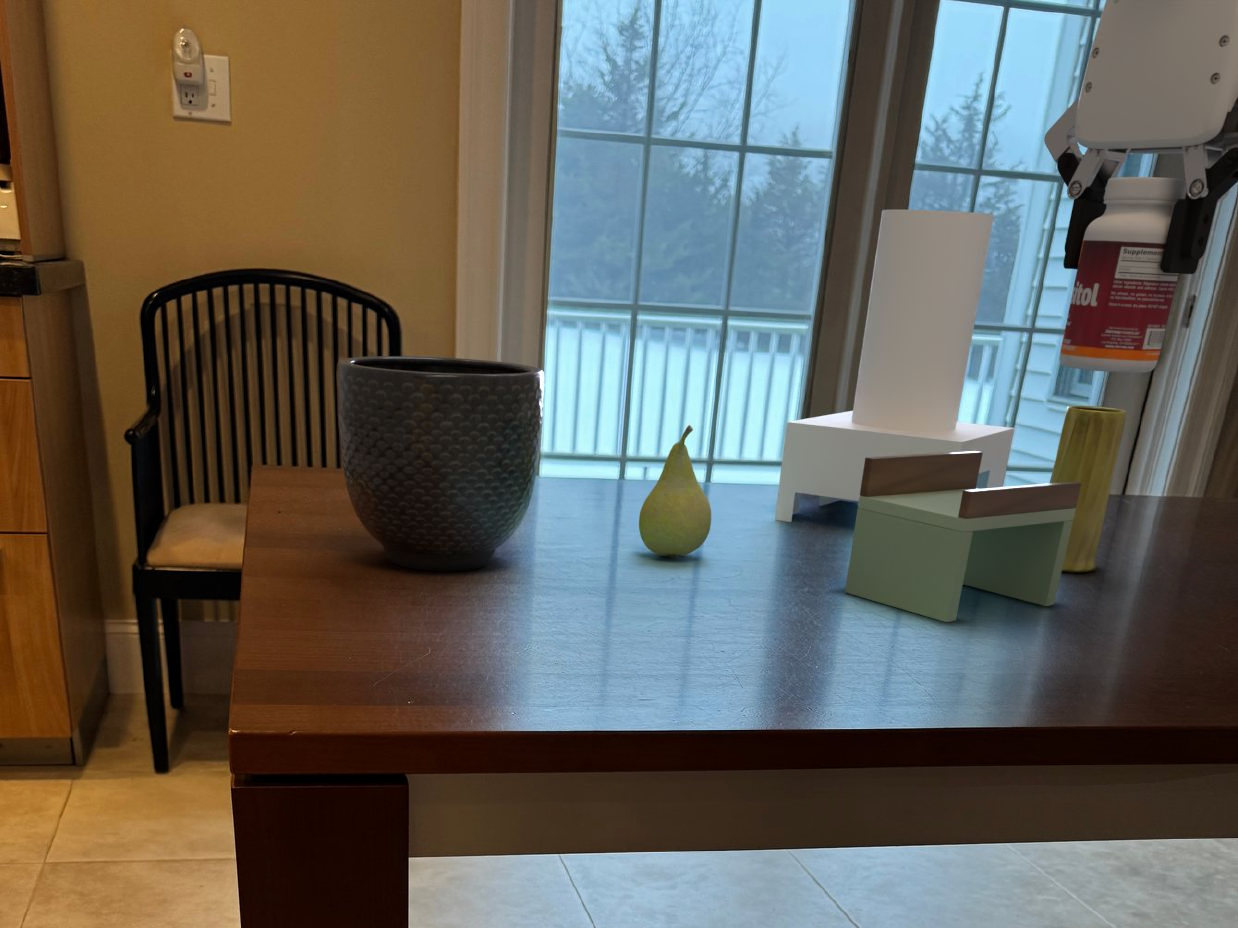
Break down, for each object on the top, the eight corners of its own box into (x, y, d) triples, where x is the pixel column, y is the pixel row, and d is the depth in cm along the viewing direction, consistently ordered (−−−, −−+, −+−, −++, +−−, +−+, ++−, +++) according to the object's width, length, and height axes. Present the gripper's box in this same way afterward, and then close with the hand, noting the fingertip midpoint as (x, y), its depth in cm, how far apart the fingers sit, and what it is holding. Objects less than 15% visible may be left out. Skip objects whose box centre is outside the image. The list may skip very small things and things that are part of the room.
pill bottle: (1047, 363, 89) (1084, 180, 84) (1140, 368, 89) (1183, 184, 84) (1068, 370, 84) (1109, 174, 79) (1167, 375, 83) (1215, 178, 78)
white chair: (774, 519, 141) (813, 205, 127) (839, 499, 155) (881, 214, 141) (943, 545, 132) (1005, 210, 118) (995, 521, 146) (1056, 220, 132)
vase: (1025, 568, 123) (1060, 408, 117) (1030, 556, 128) (1063, 403, 122) (1093, 576, 121) (1132, 414, 115) (1095, 564, 126) (1132, 408, 120)
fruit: (700, 550, 124) (714, 416, 118) (715, 567, 117) (730, 427, 111) (631, 548, 123) (641, 413, 118) (642, 565, 116) (654, 423, 111)
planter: (328, 578, 106) (322, 367, 99) (353, 537, 121) (349, 352, 114) (537, 587, 107) (546, 378, 99) (535, 545, 122) (543, 362, 115)
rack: (1054, 605, 110) (1085, 469, 105) (946, 622, 103) (973, 478, 98) (951, 577, 118) (975, 450, 113) (844, 592, 110) (865, 457, 105)
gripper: (1389, -86, 71) (1289, 278, 79) (1108, -44, 83) (1046, 268, 92) (1324, -112, 67) (1225, 275, 75) (1038, -64, 79) (980, 264, 88)
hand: (1128, 268), depth 83 cm, fingers closed on pill bottle, 6 cm apart
